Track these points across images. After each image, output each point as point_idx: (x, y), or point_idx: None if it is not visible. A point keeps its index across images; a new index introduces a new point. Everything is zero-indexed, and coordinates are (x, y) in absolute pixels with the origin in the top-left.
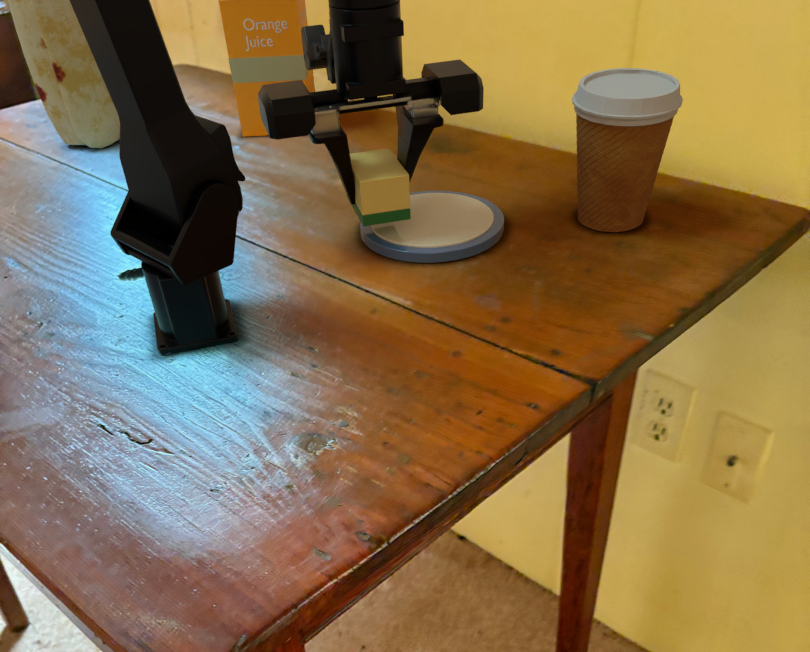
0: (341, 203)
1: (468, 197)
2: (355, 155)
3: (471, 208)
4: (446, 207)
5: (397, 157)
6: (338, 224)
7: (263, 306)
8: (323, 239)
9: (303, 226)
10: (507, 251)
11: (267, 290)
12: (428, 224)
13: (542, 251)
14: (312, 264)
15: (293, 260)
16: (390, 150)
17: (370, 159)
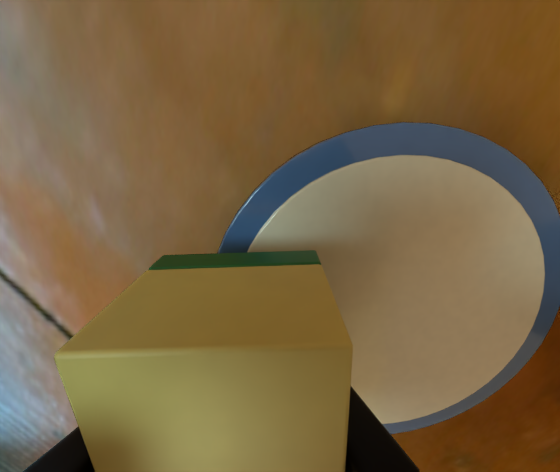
0: (184, 50)
1: (531, 232)
2: (130, 388)
3: (498, 298)
4: (445, 274)
5: (351, 469)
6: (167, 198)
7: (35, 451)
8: (129, 265)
9: (74, 179)
10: (467, 411)
11: (33, 414)
12: (365, 343)
13: (520, 426)
14: None
15: (67, 334)
16: (348, 377)
17: (210, 456)
